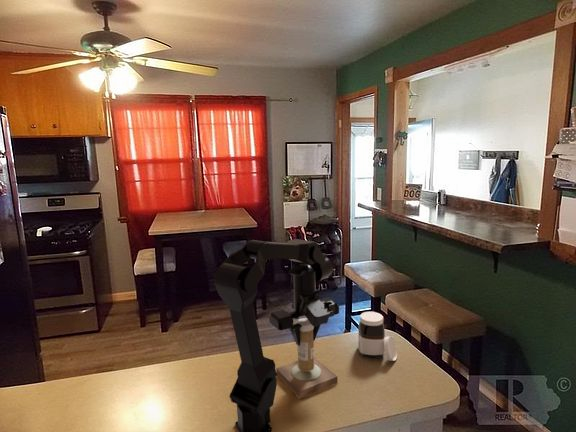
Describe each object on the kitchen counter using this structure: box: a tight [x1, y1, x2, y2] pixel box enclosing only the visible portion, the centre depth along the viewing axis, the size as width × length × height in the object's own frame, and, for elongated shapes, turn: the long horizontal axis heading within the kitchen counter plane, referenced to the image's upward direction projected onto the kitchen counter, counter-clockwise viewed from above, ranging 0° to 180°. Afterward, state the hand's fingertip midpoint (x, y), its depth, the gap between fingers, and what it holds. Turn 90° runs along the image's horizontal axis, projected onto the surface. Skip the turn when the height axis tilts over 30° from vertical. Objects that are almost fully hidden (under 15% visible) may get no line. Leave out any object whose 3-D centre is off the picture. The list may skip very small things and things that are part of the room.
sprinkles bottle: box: [297, 317, 315, 372], centre depth 100 cm, size 5×5×14 cm
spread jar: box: [357, 311, 398, 362], centre depth 112 cm, size 12×11×12 cm
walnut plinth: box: [275, 356, 338, 400], centre depth 102 cm, size 12×12×2 cm
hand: (305, 342), depth 100 cm, fingers closed on sprinkles bottle, 4 cm apart
